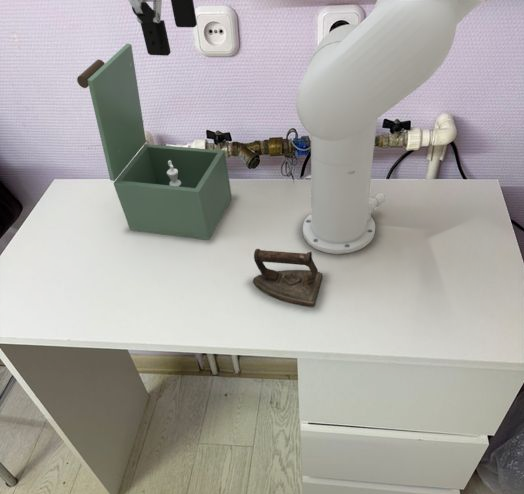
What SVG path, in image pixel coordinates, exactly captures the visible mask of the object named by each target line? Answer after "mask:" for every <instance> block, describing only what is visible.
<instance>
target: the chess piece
mask: <svg viewBox="0 0 524 494" xmlns="http://www.w3.org/2000/svg"><path fill="white" fill-rule="evenodd" d="M168 165H169V167H170V169H169V170H168V171H167V175H168V176H169V178H170V179H171V182H170V184H169V185H170V186H178V187H179V186H180V185H181V181H180V180H177V178H178V170H177V169H175V168H174V167H173V165H172V162H171V160H170V161H168Z"/></svg>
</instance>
